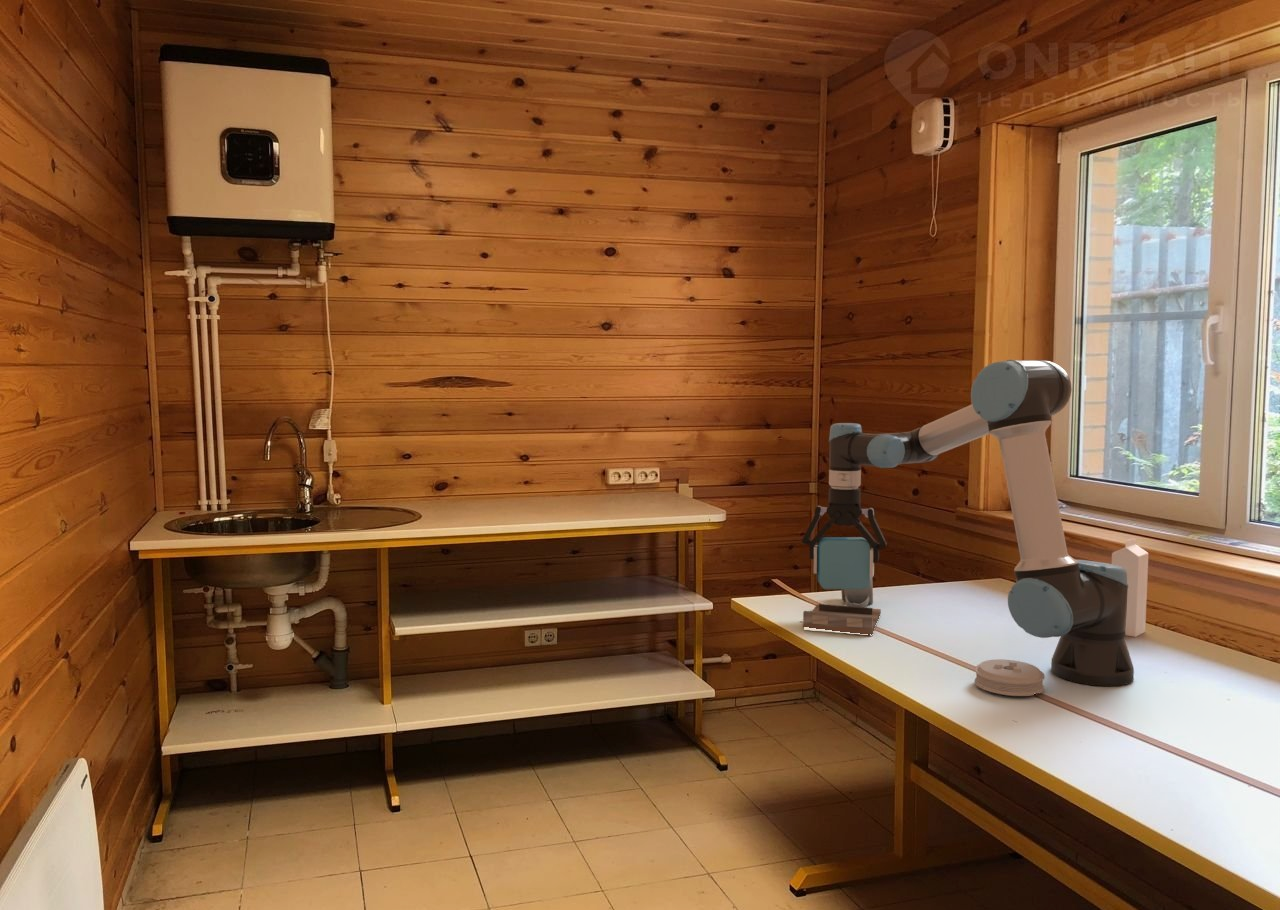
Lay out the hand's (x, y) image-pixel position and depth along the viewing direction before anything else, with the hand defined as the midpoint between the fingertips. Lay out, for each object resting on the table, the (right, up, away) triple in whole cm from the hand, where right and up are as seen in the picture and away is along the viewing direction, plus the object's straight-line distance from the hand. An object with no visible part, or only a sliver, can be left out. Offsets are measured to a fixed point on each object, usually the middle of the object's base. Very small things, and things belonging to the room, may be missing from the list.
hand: (843, 574), depth 234 cm
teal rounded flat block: (0, -3, 0) cm, 3 cm away
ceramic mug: (+8, -11, +19) cm, 23 cm away
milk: (+64, -13, -9) cm, 66 cm away
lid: (+22, -17, -47) cm, 54 cm away
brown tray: (0, -12, +1) cm, 12 cm away
